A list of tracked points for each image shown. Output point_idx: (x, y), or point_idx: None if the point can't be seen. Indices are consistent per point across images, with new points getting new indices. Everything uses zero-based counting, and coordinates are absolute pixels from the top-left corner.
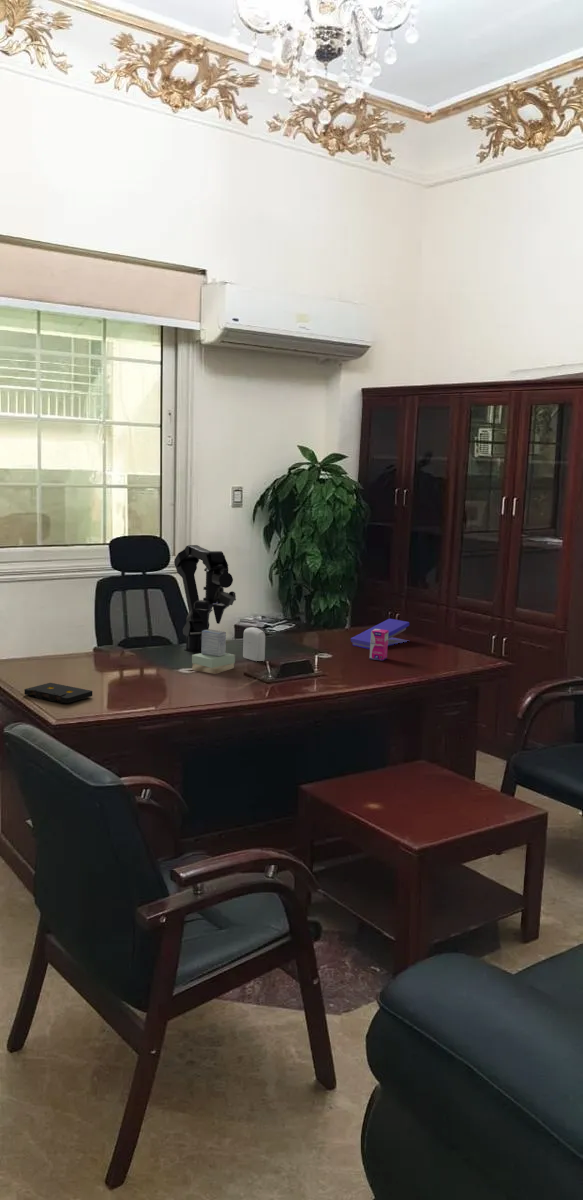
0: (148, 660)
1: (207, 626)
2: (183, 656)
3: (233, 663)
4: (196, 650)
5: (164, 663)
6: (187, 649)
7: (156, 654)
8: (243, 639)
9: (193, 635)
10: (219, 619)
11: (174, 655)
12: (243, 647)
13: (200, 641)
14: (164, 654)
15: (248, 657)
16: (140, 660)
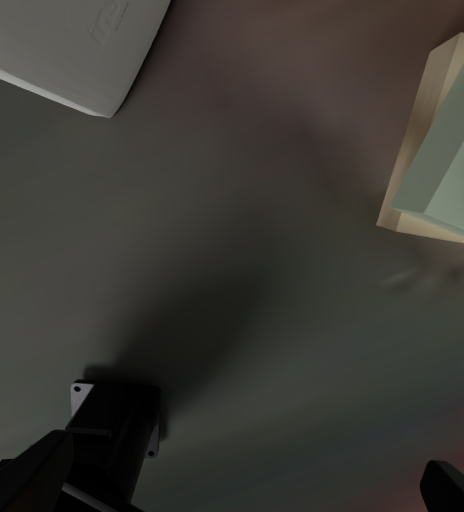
0: (398, 487)
1: (446, 463)
2: (252, 410)
3: (457, 38)
4: (147, 402)
5: (435, 417)
6: (151, 443)
7: (269, 507)
8: (35, 80)
9: (125, 503)
10: (22, 499)
11: (251, 448)
12: (82, 99)
13: (116, 430)
14: (252, 485)
15: (145, 52)
16: (409, 509)
